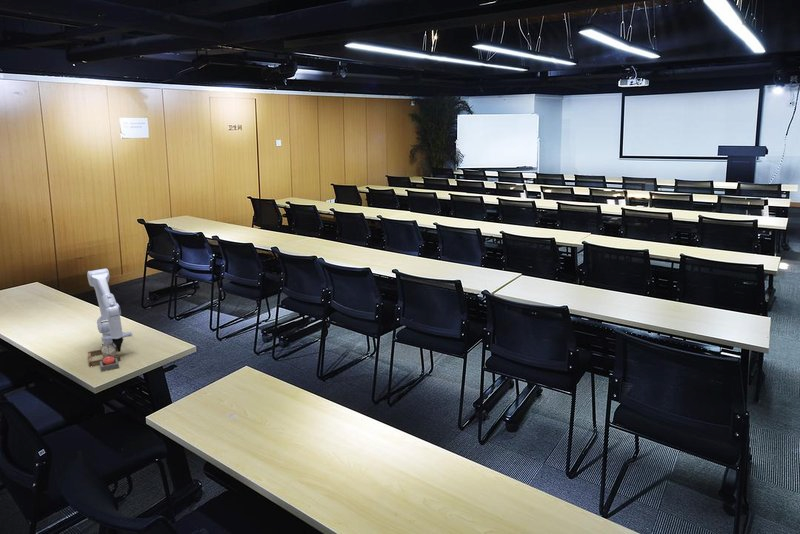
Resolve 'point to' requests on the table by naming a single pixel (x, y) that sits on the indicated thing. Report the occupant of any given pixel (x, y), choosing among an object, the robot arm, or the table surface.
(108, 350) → the spiky grey ball
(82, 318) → the table surface
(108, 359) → the dome button
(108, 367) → the button collar
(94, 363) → the corral
